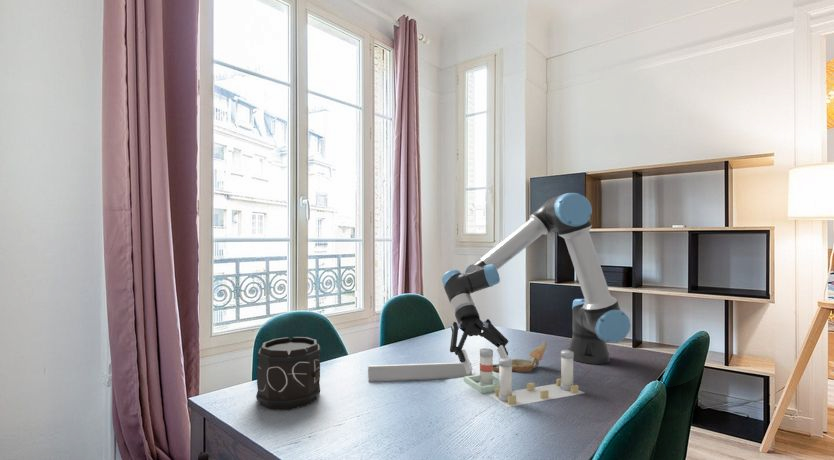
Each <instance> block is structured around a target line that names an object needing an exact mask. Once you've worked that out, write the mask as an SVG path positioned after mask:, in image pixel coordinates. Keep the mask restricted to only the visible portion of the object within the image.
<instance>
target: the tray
mask: <svg viewBox="0 0 834 460" xmlns="http://www.w3.org/2000/svg"><path fill="white" fill-rule="evenodd" d="M492 381H493V385H486V386H481V385H479V383H477V382H480V373H479V374H472V376H465V377H463V382H464V384H466V385H468V386H469V387H470V388H472V389H473V390H475V391H477V392H478V393H480V394H484V393H491V392H495V389H496V388H499V375H495V374H494V373H493V376H492Z"/></svg>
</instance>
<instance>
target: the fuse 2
mask: <svg viewBox="0 0 834 460" xmlns="http://www.w3.org/2000/svg"><path fill="white" fill-rule="evenodd" d="M573 358H574V352H573V351H569V350H568V349H562V350H561V351H560V378H561V389H562V390H565V391H571V386H572V385H575V384H574V360H573Z"/></svg>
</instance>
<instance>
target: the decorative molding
mask: <svg viewBox="0 0 834 460" xmlns="http://www.w3.org/2000/svg"><path fill="white" fill-rule="evenodd" d="M470 364H471V365H472V363H471V362H470ZM472 371H473V370H472ZM472 371H471V372H470V373H469V374H467V372H466V370H465V367H464V364H463V363H461V362H460V361H459V362H440V363H439V362H436V363H434V362H432V363H409V364H408V363H407V364H404V363H403V364H376V365H375V364H374V365H367V376H368V377H367V378H368V382H391V381H392V382H393V381H415V380H416V381H417V380H418V381H419V380H421V381H422V380H423V381H424V380H441V379H442V380H443V379H444V380H445V379H460V378H461V379H462V378H464V377H465V376H472V375H473V372H472Z"/></svg>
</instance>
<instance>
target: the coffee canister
mask: <svg viewBox="0 0 834 460" xmlns="http://www.w3.org/2000/svg"><path fill="white" fill-rule="evenodd" d="M321 351H322V350H321V346H320V344H319V343H318V341H317V339H314V338H312V337H307V336H292V337H291V339H290V337H289V336H286V337H280V338H273V339H271V340H268V341H264V342H263V343H262V344H261V347H260V348H259V349H258V352H257V354H256V358H257V359H258V362H257V371H256V372H257V374H256V385H257V393H256V394H255V398H256V400H258V401H259V405H260V406H262V407H264V408H266V409H268V410H277V411H279V410H282V411H290V410H293V409H294V410H295V409H298V408H302V407H307V406H308V405H310V404H311V403H313V402H314V401H316V400H317V398H318V396H319V395H320V393H321V385H320V380H321V379H320V378H321V359H320V354H322V352H321Z"/></svg>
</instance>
